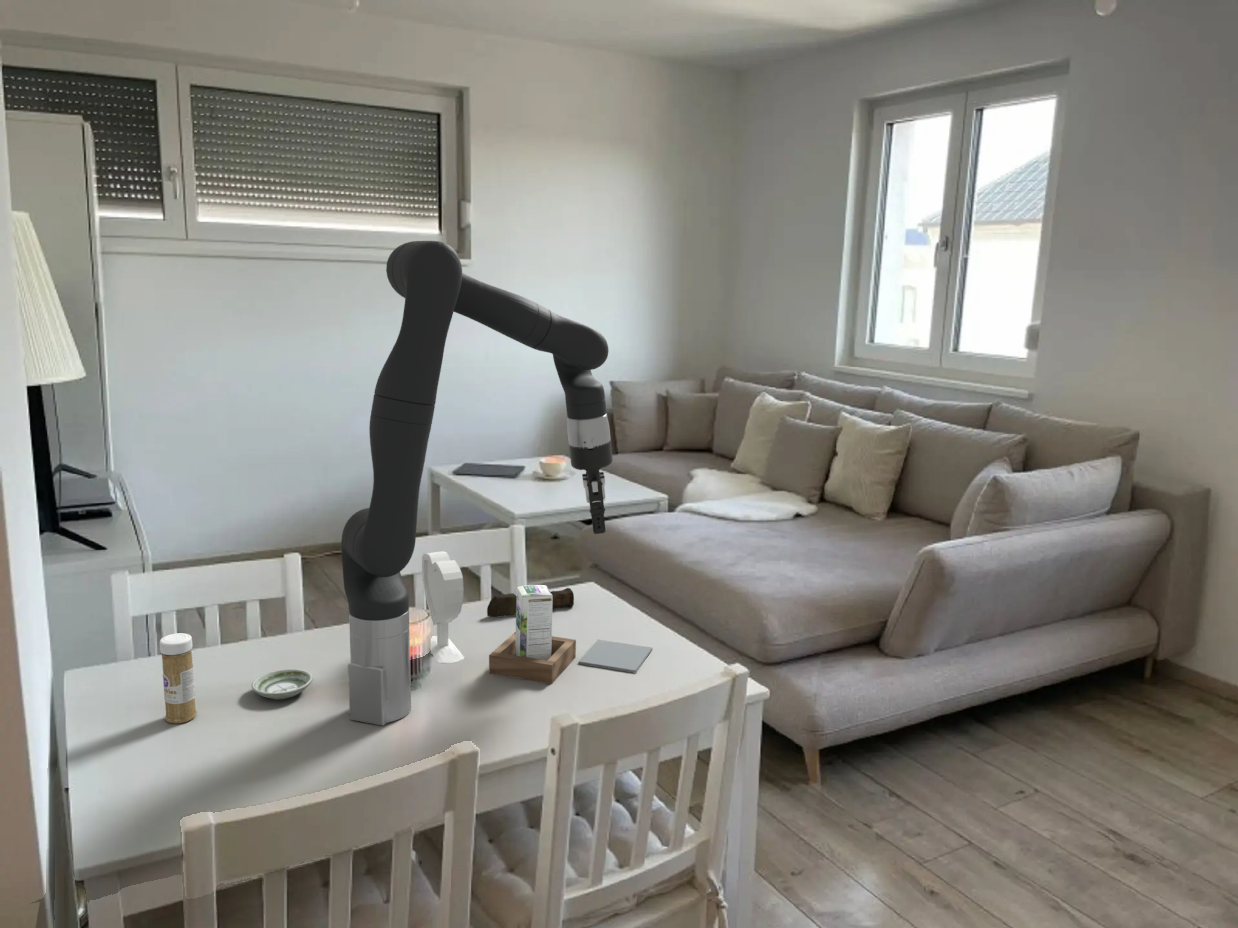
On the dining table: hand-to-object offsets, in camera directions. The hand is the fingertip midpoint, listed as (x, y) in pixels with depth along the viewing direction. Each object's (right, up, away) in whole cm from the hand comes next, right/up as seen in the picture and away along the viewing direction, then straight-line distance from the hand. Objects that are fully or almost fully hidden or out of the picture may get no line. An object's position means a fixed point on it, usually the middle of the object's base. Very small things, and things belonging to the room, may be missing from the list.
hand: (598, 524), depth 169 cm
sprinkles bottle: (-65, -29, -23) cm, 75 cm away
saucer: (-53, -28, -14) cm, 61 cm away
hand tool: (-15, -20, +26) cm, 36 cm away
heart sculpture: (-30, -24, +6) cm, 39 cm away
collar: (-12, -26, -1) cm, 28 cm away
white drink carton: (-12, -26, -1) cm, 28 cm away
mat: (+3, -25, +4) cm, 26 cm away
